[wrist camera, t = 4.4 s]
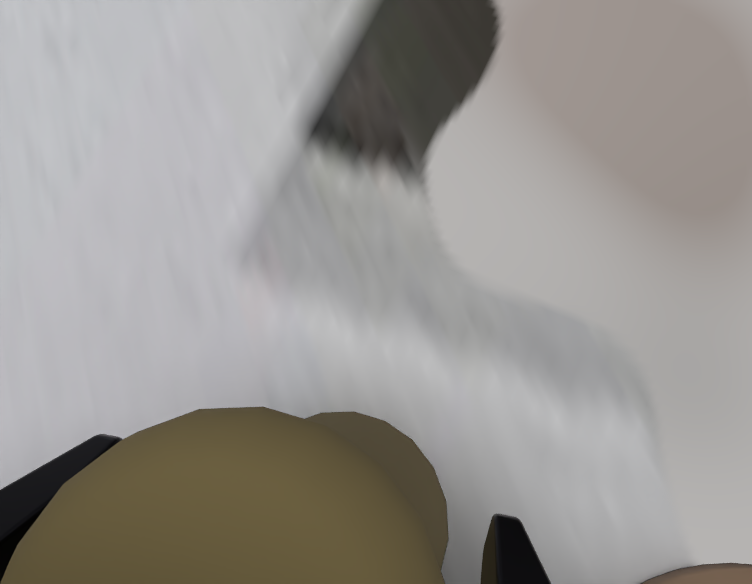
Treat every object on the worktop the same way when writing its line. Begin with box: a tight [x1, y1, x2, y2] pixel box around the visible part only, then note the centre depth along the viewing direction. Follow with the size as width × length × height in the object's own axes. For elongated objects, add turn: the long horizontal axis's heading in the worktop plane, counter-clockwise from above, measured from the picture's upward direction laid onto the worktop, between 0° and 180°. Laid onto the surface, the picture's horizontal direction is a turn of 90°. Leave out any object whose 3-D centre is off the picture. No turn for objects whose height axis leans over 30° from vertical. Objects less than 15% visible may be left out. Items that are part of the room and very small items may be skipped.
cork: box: [0, 407, 448, 584], centre depth 10 cm, size 6×6×11 cm
